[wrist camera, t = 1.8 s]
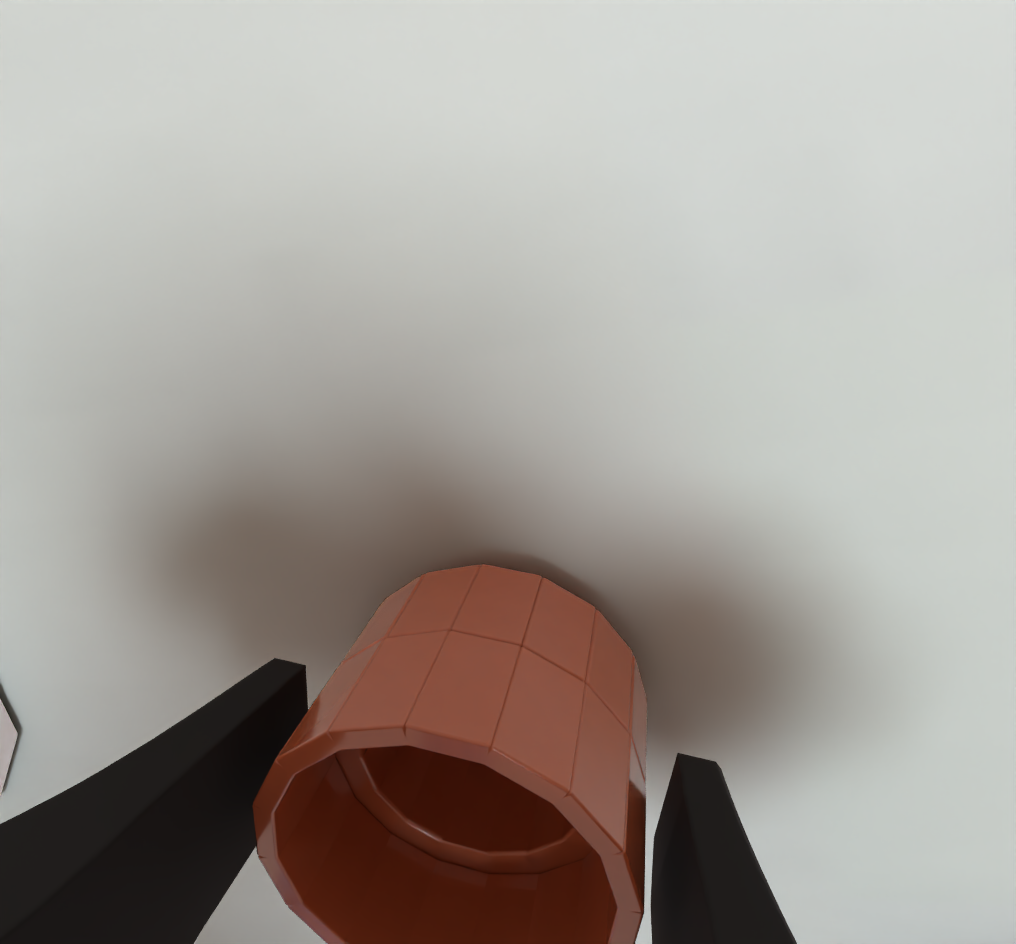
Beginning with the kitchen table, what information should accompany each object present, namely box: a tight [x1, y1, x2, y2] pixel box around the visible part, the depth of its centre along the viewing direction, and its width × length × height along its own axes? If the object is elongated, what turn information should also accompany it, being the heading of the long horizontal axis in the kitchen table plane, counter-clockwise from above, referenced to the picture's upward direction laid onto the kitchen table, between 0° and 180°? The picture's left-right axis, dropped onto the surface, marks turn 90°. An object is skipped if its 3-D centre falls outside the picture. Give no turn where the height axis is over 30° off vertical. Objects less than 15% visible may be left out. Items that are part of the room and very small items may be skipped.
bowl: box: [252, 564, 647, 944], centre depth 11 cm, size 6×6×4 cm
